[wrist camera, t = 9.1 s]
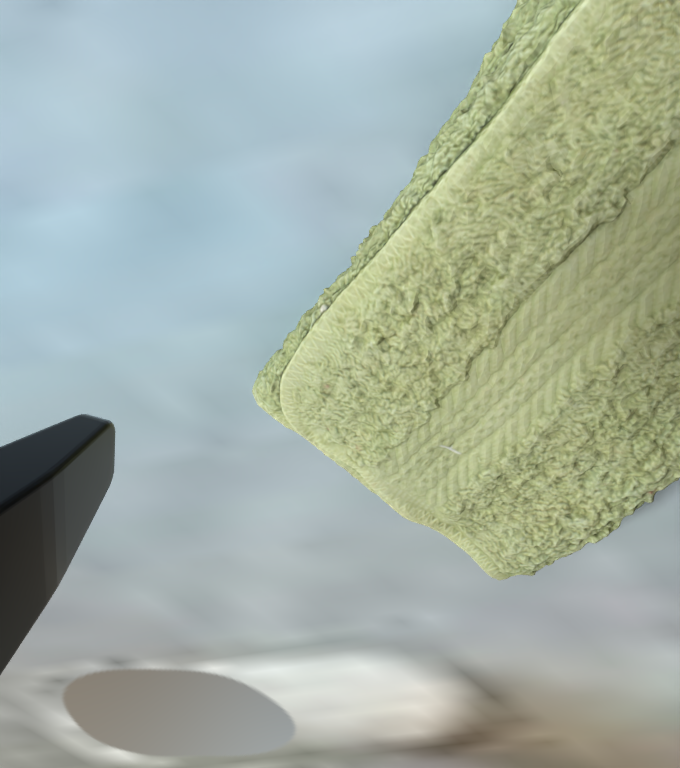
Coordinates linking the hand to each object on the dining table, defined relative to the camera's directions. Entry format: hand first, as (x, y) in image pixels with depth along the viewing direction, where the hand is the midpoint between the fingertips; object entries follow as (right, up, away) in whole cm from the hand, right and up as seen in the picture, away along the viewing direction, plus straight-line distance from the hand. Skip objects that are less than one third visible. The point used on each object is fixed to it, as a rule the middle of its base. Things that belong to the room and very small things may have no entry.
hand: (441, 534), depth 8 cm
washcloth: (+5, +5, +11) cm, 13 cm away
